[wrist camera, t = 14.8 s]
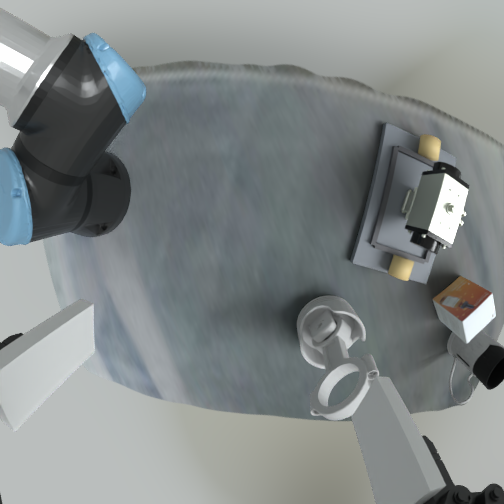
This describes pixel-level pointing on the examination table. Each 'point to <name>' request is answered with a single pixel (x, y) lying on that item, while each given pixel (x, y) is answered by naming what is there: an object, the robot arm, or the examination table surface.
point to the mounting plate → (396, 205)
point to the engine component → (334, 353)
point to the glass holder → (478, 359)
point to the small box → (465, 308)
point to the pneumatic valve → (435, 207)
